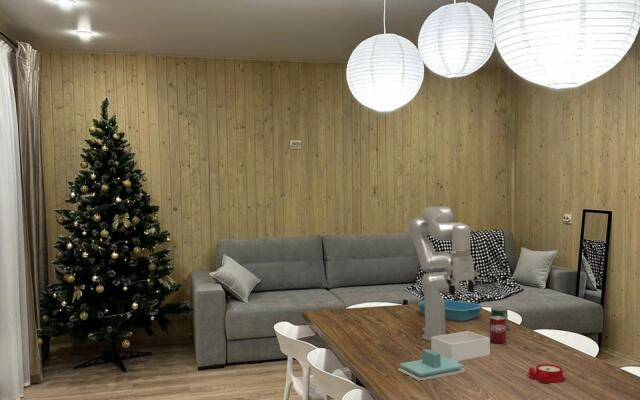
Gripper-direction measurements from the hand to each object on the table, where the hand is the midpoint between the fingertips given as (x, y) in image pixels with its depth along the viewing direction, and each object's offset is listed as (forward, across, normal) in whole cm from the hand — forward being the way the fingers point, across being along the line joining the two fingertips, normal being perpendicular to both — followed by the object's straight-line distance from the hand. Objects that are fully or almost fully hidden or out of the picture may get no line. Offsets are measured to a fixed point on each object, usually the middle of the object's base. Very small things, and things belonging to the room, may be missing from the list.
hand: (461, 293), depth 246 cm
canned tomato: (+28, +42, +26) cm, 57 cm away
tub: (+27, -1, -1) cm, 27 cm away
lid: (+25, -24, -13) cm, 37 cm away
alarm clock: (+26, +9, -39) cm, 48 cm away
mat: (+26, -24, -13) cm, 38 cm away
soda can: (+28, +25, +7) cm, 38 cm away
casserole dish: (+30, +39, +65) cm, 81 cm away
